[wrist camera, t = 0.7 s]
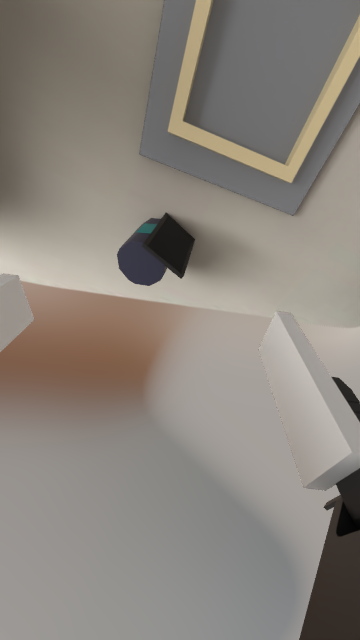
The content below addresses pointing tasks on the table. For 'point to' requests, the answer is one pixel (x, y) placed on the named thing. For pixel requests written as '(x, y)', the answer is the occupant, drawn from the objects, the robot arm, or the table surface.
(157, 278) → the speaker
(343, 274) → the table surface
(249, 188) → the mount board
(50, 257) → the table surface
